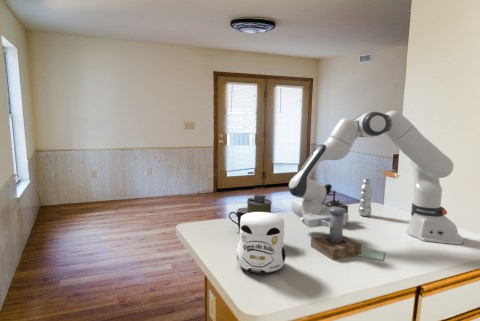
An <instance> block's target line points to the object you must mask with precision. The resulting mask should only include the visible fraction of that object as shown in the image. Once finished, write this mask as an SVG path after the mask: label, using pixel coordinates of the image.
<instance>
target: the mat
mask: <svg viewBox="0 0 480 321" xmlns="http://www.w3.org/2000/svg"><path fill="white" fill-rule="evenodd" d="M384 256H385V251H383V250H378V249H373V248H368V247H362V248H361V254H358V255H357V257H361V258H367V259H369V260H370V259H371V260H374V261H375V260H376V261H382V262H383V261H384Z"/></svg>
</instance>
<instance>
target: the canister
mask: <svg viewBox="0 0 480 321" xmlns="http://www.w3.org/2000/svg"><path fill="white" fill-rule="evenodd" d="M266 197H267V196H266V195H263V194H261V193H259V194H254V198H253V197H250V198H247V201H246V204H247V207H246V208H247V213H252V212H268V213H272V203H273V202H272V200H271V199H267V198H266Z"/></svg>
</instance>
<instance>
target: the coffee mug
mask: <svg viewBox="0 0 480 321" xmlns="http://www.w3.org/2000/svg"><path fill="white" fill-rule="evenodd" d="M232 214H235V215H236V217H237V221H235V220H234V219H232V217H231V215H232ZM244 214H247V207H238V208H237V209H236V211H231V212H230V213H228V218H229V219H230V221H232V222H233V223H234V224H236V225H237V227H238V232H239V233H240V220H241V216H242V215H244Z"/></svg>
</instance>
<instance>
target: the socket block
mask: <svg viewBox="0 0 480 321" xmlns="http://www.w3.org/2000/svg"><path fill="white" fill-rule="evenodd" d="M310 247H311V248H312V249H314V250H316V251H317V252H319V253H320V254H322V255H323V256H325V257H327V258H329V259H330V260H332V261H335V260H339V259H345V258H349V257H350V258H351V257H354V256H355V257H356V256H358V254H361V248H363V245H362V244H361V243H359V242H357V241H355V240H353V239H351V238H349V237H347V236H345V235H343V234H342V244H337V245H334V244H332V243H330V242H329V234H324V235H322V234H321V235H317V236H311V238H310Z"/></svg>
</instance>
